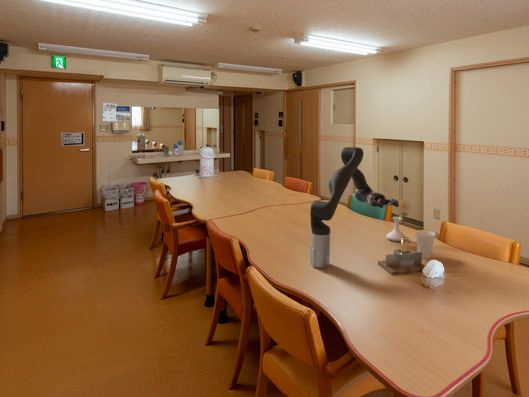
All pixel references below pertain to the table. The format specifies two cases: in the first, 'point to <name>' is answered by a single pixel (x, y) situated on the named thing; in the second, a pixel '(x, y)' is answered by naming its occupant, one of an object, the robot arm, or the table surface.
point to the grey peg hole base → (397, 270)
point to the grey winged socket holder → (403, 259)
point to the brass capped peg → (404, 244)
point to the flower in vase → (396, 233)
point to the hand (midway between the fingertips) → (390, 205)
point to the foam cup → (425, 242)
